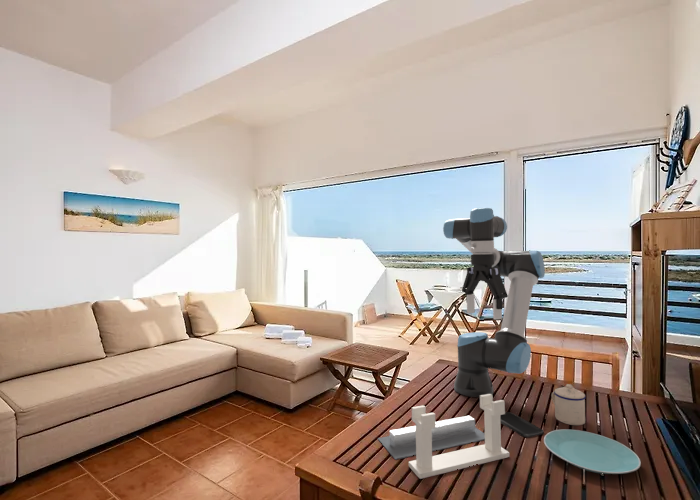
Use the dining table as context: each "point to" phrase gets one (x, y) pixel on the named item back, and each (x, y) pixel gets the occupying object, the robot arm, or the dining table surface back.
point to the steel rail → (433, 431)
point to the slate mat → (433, 444)
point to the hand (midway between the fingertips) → (483, 315)
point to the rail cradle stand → (460, 458)
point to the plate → (592, 451)
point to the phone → (520, 425)
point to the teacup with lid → (569, 405)
